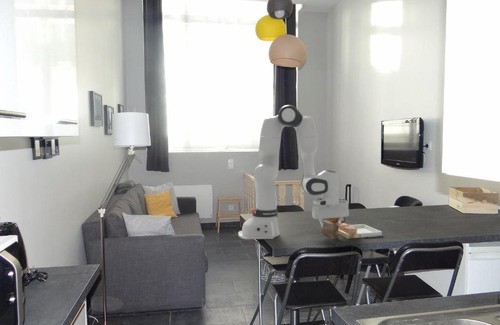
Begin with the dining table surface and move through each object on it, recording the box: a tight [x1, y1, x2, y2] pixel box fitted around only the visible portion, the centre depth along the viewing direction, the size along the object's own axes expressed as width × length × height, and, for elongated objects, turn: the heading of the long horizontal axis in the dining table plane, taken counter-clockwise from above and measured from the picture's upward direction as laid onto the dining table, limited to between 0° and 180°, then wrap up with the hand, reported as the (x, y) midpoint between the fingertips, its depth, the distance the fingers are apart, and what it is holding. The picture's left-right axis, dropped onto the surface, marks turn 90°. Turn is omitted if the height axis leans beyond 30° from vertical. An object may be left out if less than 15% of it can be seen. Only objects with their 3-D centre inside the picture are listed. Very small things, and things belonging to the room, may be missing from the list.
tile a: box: [336, 222, 350, 230], centre depth 197 cm, size 5×5×2 cm
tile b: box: [344, 226, 357, 234], centre depth 189 cm, size 5×5×2 cm
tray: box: [348, 223, 383, 239], centre depth 195 cm, size 12×18×2 cm, turn 14°
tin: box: [323, 217, 346, 224], centre depth 211 cm, size 15×3×8 cm, turn 101°
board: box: [338, 229, 362, 240], centre depth 193 cm, size 8×16×2 cm, turn 14°
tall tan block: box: [320, 220, 339, 240], centre depth 190 cm, size 3×14×7 cm, turn 14°
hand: (330, 226), depth 190 cm, fingers open, 8 cm apart
